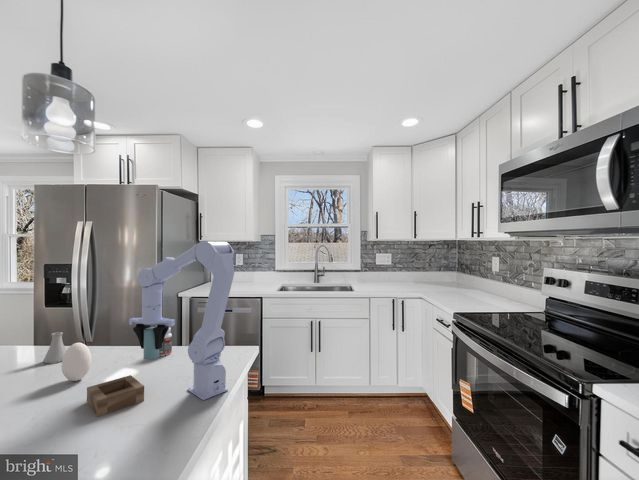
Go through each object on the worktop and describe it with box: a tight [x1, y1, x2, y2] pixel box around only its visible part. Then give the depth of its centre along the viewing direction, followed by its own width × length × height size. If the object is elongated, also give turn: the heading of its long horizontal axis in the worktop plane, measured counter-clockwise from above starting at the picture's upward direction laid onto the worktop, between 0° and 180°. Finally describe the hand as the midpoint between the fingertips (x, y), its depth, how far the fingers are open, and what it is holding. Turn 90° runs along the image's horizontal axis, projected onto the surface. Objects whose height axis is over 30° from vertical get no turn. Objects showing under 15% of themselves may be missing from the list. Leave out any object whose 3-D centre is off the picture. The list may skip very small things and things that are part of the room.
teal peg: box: [143, 326, 160, 361], centre depth 98 cm, size 4×4×9 cm
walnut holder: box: [86, 374, 145, 418], centre depth 84 cm, size 11×11×4 cm
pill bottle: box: [159, 327, 173, 357], centre depth 120 cm, size 6×6×10 cm
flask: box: [42, 331, 67, 364], centre depth 113 cm, size 7×7×10 cm
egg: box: [61, 342, 92, 382], centre depth 97 cm, size 7×7×12 cm
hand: (151, 348), depth 98 cm, fingers closed on teal peg, 4 cm apart
